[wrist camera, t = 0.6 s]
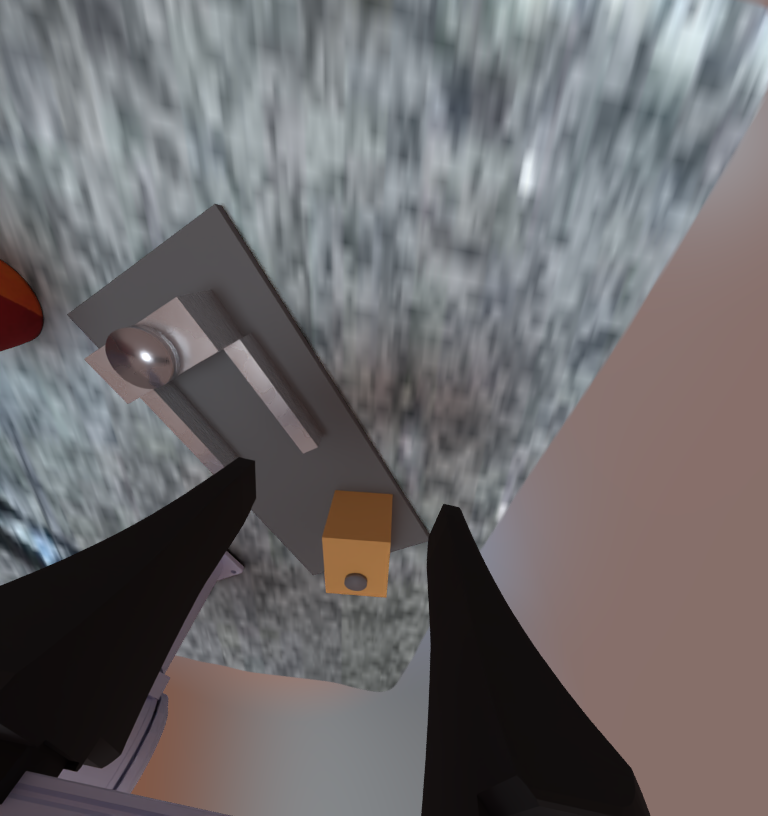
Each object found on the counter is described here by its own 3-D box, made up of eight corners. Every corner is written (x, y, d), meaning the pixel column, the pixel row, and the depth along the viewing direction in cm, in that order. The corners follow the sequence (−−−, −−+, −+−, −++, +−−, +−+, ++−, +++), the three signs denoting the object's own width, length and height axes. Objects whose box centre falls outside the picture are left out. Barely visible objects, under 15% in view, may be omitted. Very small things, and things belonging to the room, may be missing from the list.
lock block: (337, 542, 27) (325, 596, 22) (335, 490, 24) (320, 541, 20) (388, 546, 26) (386, 601, 22) (392, 494, 24) (390, 546, 19)
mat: (314, 569, 29) (313, 575, 29) (76, 312, 19) (67, 314, 18) (429, 534, 26) (430, 540, 26) (221, 205, 16) (214, 204, 15)
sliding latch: (235, 472, 23) (208, 509, 20) (121, 346, 19) (61, 366, 16) (323, 434, 21) (308, 468, 18) (217, 283, 17) (172, 291, 14)
